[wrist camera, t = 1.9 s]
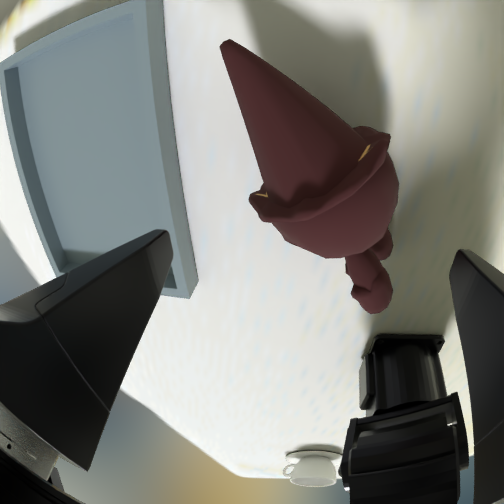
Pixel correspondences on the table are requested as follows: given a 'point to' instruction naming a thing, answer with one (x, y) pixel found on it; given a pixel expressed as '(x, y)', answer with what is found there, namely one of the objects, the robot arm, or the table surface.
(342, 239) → the icecream
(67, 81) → the tray
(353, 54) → the table surface
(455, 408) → the robot arm
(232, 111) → the table surface
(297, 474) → the teacup
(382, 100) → the table surface
